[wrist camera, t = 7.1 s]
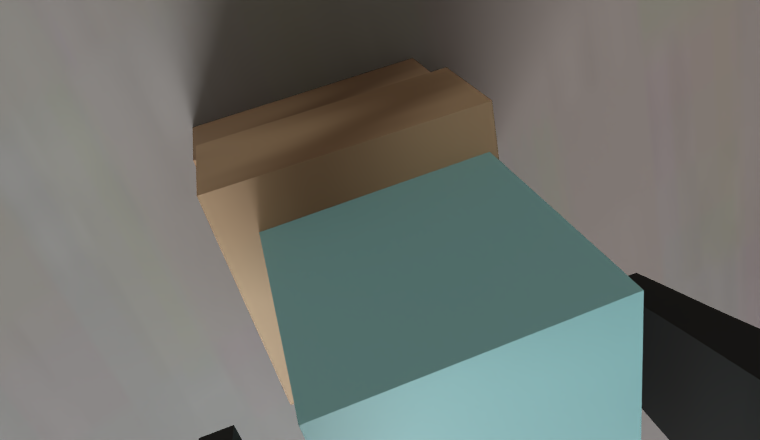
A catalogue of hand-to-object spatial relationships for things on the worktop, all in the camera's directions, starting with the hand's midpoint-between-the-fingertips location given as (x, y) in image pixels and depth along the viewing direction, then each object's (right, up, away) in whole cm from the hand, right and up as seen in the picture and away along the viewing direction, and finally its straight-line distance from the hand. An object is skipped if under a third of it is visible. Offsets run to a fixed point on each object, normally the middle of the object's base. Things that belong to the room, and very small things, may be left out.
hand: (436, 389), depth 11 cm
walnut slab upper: (-2, +3, +4) cm, 6 cm away
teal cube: (-1, +2, +3) cm, 3 cm away
